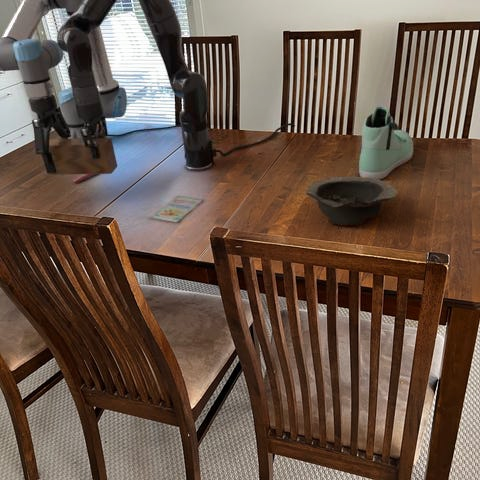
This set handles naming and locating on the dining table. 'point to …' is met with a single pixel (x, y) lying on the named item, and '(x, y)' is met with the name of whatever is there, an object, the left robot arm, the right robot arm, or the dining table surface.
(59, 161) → the box
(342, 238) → the dining table surface
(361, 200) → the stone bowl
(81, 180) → the candy cane
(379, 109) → the sneaker
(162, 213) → the baking ingredient package
